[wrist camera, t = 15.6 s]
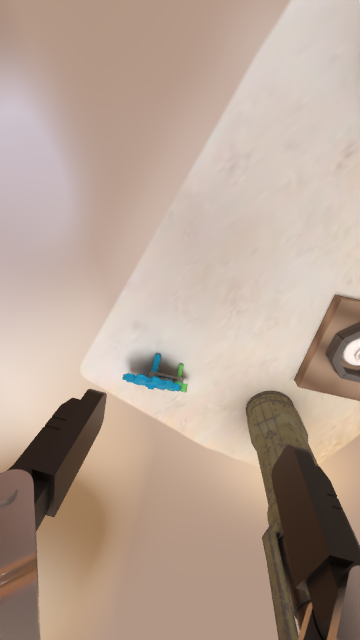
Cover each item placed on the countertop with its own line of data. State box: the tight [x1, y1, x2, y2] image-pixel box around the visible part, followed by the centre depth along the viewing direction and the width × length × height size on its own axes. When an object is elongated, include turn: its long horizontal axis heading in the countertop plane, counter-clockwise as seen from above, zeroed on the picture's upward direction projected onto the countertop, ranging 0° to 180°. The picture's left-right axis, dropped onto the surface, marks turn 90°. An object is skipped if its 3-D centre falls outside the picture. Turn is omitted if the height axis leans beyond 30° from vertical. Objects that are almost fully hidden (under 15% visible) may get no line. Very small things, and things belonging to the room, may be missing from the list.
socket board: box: [294, 295, 360, 401], centre depth 37 cm, size 16×12×4 cm
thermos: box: [246, 391, 360, 640], centre depth 29 cm, size 9×12×35 cm
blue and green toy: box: [123, 354, 187, 392], centre depth 42 cm, size 11×6×10 cm
